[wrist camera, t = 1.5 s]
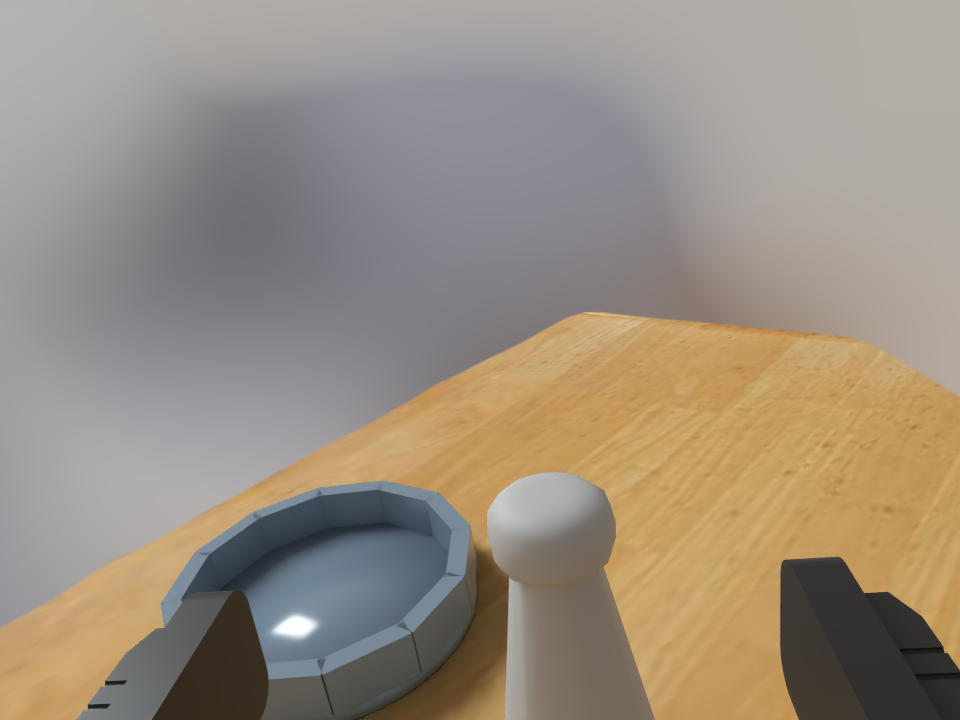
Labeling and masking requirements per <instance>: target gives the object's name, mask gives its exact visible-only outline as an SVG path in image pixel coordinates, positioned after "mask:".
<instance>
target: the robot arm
mask: <svg viewBox="0 0 960 720" xmlns="http://www.w3.org/2000/svg"><path fill="white" fill-rule="evenodd" d="M780 648H781V660H782V667H783V673H784V677H785V682H786V686H787V689H788V692H789V695H790V698H791V701H792V703H793V706H794V708H795V711H796V713H797V716H798V718H799V720H960V670H959V669H958V667H957V666H956V664H955V663H954V662H953V660H952V659H951V657H950V656H949V654H948V653H945V652H944V649H943V646H942V644H941V643H940V641H939V640H938V639H937V637H936V636H935V634H934V633H933V631H932V630H931V629H930V627H929V626H928V624H927V623H926V621H925V620H924V619H923V617H922V616H921V615H919V614H918V613H916V612H915V611H914V610H912V609H911V608H909V607H908V606H907V605H905V604H904V603H903V602H901V601H900V600H898V599H897V598H896V597H894V596H893V595H892V594H890V593H889V592H878V593H864V592H863V591H862V589H861V588H860V586H859V584H858V583H857V581H856V579H855V578H854V576H853V575H852V573H851V571H850V570H849V568H848V566H847V565H846V563H845V562H844V560H843V559H842V558H840V557H825V558H808V559H790V560H784V561H783V562H782V565H781V602H780ZM268 689H269V677H268V670H267V665H266V662H265V658H264V655H263V651H262V648H261V644H260V641H259V637H258V634H257V630H256V627H255V623H254V619H253V616H252V612H251V609H250V605H249V602H248V599H247V597H246V595H245V594H244V593H243V592H242V591H240V590H233V591H216V592H199V593H192V594H190V595H188V596H187V597H186V598H185V600H184V601H183V602H182V604H181V605H180V607H179V608H178V609H177V611H176V612H175V614H174V615H173V616H172V618H171V619H170V621H169V622H168V624H167V625H166V626H165V628H158V629H155V630H154V631H153V632H152V633H150V634H149V635H148V636H147V637H145V638H144V639H143V640H142V641H140V642H139V643H138V644H137V645H135V646H134V647H133V648H132V649H131V650H129V651H128V652H127V653H126V654H125V655H124V657H123V658H122V659H121V661H120V662H119V663H118V665H117V666H116V667H115V669H114V670H113V671H112V673H111V674H110V675H109V677H108V678H107V679H106V681H105V686H104V687H101V688H100V689H99V690H98V692H97V693H96V694H95V696H94V697H93V698H92V700H91V701H90V702H89V704H88V709H87V710H83V712H82V713H81V714H80V716H79V717H78V718H77V720H261V718H262V715H263V713H264V710H265V707H266V703H267V698H268Z"/></svg>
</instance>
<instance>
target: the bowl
mask: <svg viewBox="0 0 960 720" xmlns="http://www.w3.org/2000/svg"><path fill="white" fill-rule="evenodd" d="M476 569H477V559H476V553H475V548H474V542H473V537H472V532H471V526H470V525H469V524H468V523H467V521H466V520H465V519H464V518H463V517H462V516H461V515H460V514H459V513H458V512H457V511H456V510H455V509H454V508H453V507H452V506H451V505H450V504H449V503H448V502H447V501H446V500H445V499H444V498H443V497H442V496H441V494H440V493H437V492H432V491H428V490H424V489H419V488H415V487H410V486H406V485H402V484H397V483H393V482H388V481H377V482H367V483H358V484H349V485H339V486H330V487H320V488H317V489H314V490H311V491H309V492H306V493H303V494H300V495H298V496H295V497H292V498H290V499H287V500H284V501H282V502H279V503H276V504H273V505H271V506H268V507H265V508H263V509H260V510H257V511H255V512H253V513H250V514H249V515H248V516H246V517H245V518H243V519H242V520H240V521H239V522H238V523H236V524H235V525H233V526H232V527H230V528H229V529H228V530H226V531H225V532H223V533H222V534H221V535H219V536H218V537H216V538H215V539H213V540H212V541H211V542H209V543H208V544H206V545H205V546H203V547H202V548H201V549H199V550H198V551H196V552H195V553H194V554H193V556H192V557H191V559H190V560H189V562H188V563H187V565H186V566H185V568H184V569H183V571H182V572H181V574H180V575H179V577H178V578H177V580H176V581H175V583H174V584H173V586H172V587H171V589H170V590H169V592H168V593H167V595H166V596H165V598H164V599H163V601H162V603H161V609H162V616H163V622H164V628H165V626H166V625H167V624H168V622H169V621H170V619H171V618H172V616H173V615H174V614H175V612H176V611H177V609H178V608H179V607H180V605H181V604H182V602H183V601H184V600H185V598H186V597H187V596H188V595H190V594H192V593H199V592H216V591H233V590H240V591H242V592H243V593H244V594H245V595H246V597H247V599H248V602H249V605H250V609H251V612H252V616H253V619H254V623H255V627H256V630H257V634H258V637H259V641H260V644H261V648H262V651H263V655H264V658H265V662H266V665H267V670H268V677H269V689H268V698H267V703H266V707H265V710H264V713H263V715H262V718H261V720H355V719H358V718H361V717H363V716H365V715H367V714H370V713H372V712H374V711H376V710H379V709H381V708H383V707H385V706H387V705H388V704H390V703H392V702H394V701H396V700H397V699H399V698H401V697H403V696H404V695H406V694H407V693H408V692H410V691H411V690H413V689H414V688H416V687H417V686H419V685H420V684H421V683H423V682H424V681H425V680H426V679H427V678H428V677H430V676H431V675H432V674H433V673H434V672H435V671H437V670H438V669H439V668H440V667H441V666H442V664H443V663H444V662H445V661H446V660H447V659H448V658H449V657H450V656H451V655H452V653H453V652H454V651H455V649H456V648H457V647H458V645H459V644H460V643H461V641H462V639H463V638H464V636H465V634H466V632H467V630H468V628H469V627H470V624H471V621H472V619H473V616H474V613H475V608H476V603H477V583H476Z"/></svg>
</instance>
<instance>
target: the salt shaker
mask: <svg viewBox="0 0 960 720" xmlns="http://www.w3.org/2000/svg"><path fill="white" fill-rule="evenodd" d="M487 530H488V535H489V540H490V545H491V549H492V554H493V558H494V561H495V563H496V564H497V566H498V567H499V568H500V569H501V570H502V571H503V572H504V573H505V574H506V575H507V576H509V603H508V636H507V670H506V703H505V720H655V718H654V716H653V713H652V710H651V707H650V704H649V701H648V699H647V696H646V693H645V690H644V687H643V684H642V681H641V678H640V675H639V672H638V669H637V666H636V663H635V660H634V657H633V654H632V651H631V648H630V645H629V642H628V639H627V636H626V633H625V630H624V627H623V624H622V621H621V618H620V615H619V612H618V609H617V606H616V603H615V600H614V597H613V594H612V591H611V588H610V585H609V582H608V579H607V576H606V573H605V570H604V567H603V566H604V565H606V564H607V563H608V561H609V558H610V555H611V552H612V548H613V545H614V542H615V538H616V524H615V518H614V515H613V512H612V509H611V505H610V503H609V501H608V498H607V496H606V494H605V492H604V490H602V489H601V488H599V487H597V486H596V485H594V484H592V483H591V482H589V481H587V480H585V479H584V478H582V477H580V476H577V475H572V474H567V473H562V472H553V473H539V474H535V475H532V476H528V477H525V478H522V479H518V480H517V481H515V482H514V483H512V484H511V485H509V486H508V487H506V488H505V489H503V490H502V491H501V492H500V493H499V495H498V496H497V497H496V498H495V500H494V502H493V503H492V505H491V507H490V508H489V510H488V512H487Z"/></svg>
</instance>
